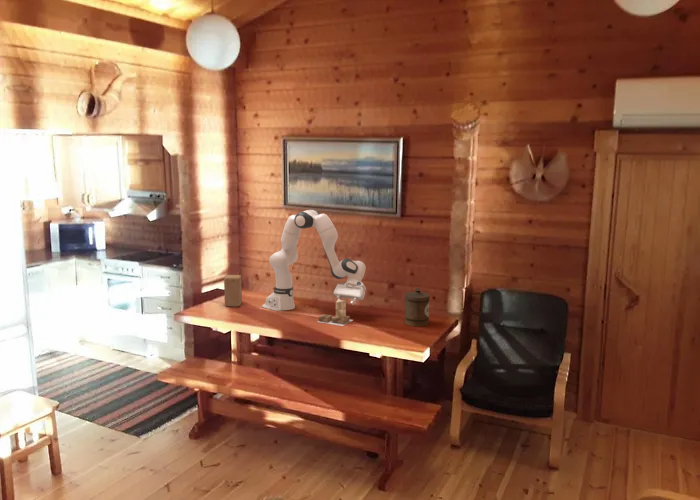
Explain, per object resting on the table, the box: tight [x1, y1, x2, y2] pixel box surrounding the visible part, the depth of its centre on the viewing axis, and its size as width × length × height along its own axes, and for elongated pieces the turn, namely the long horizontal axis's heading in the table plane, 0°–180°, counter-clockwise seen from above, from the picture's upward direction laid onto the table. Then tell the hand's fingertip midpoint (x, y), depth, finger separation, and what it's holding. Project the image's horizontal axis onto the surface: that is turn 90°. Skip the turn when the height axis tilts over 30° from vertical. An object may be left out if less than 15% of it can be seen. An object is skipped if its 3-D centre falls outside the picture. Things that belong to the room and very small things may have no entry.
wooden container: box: [404, 287, 431, 327], centre depth 364 cm, size 15×15×22 cm
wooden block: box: [223, 274, 243, 308], centre depth 402 cm, size 10×10×20 cm
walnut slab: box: [332, 315, 351, 325], centre depth 363 cm, size 8×8×3 cm
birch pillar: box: [335, 299, 347, 318], centre depth 362 cm, size 4×4×10 cm
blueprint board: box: [316, 319, 354, 327], centre depth 365 cm, size 18×14×1 cm
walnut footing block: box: [318, 313, 333, 323], centre depth 365 cm, size 6×6×3 cm
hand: (345, 303), depth 366 cm, fingers open, 8 cm apart
